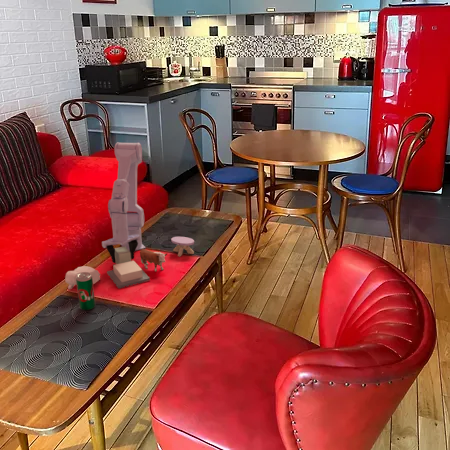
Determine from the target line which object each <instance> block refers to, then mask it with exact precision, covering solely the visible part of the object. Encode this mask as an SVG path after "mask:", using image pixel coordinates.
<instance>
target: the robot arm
mask: <svg viewBox="0 0 450 450" xmlns="http://www.w3.org/2000/svg"><path fill="white" fill-rule="evenodd" d="M114 155H115V159H116V161H117V162H118V163H117V164H118V167H117V179H116V180H114V181H113V185H112V192H111V199H109V200H108V203H107V209H108V213H109V218H110V219H111V228H112V238H109V239H107V240H103V241H101V246H102V248H104V249H106V250H107V251H108V253H109V256H110V258H111V262H112V264H116V261H115V249H114V246H117V245H120V247H123V246H125V247H126V248H127V249H128V250H129V251H130V253H131V260H134V256H135V252H136V251H140V250H141V249H145V250H146V246H145V245H144V244H143V242H142V241H143V240H142V238H143V237H142V228H143V227H144V224H145V213H144V209H143V208H142V207H141V206H140V205H139V204H138V168H139V167H138V166H139V165H140V164H141V163H142V160H143V148H142V144H141V143H140V142H119V141H117V142H116V143H115V145H114Z"/></svg>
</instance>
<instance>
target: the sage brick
mask: <svg viewBox="0 0 450 450" xmlns="http://www.w3.org/2000/svg"><path fill="white" fill-rule="evenodd" d="M114 249H115V261H116V263H115V265H116V264H120V263H125V262H129V261H132V259H131V253H130V251H129V250H128V249H127V248H126V247H125V246H123V247H122V246H120V247H115V248H114Z"/></svg>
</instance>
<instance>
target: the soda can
mask: <svg viewBox="0 0 450 450" xmlns="http://www.w3.org/2000/svg"><path fill="white" fill-rule="evenodd" d="M76 283H77V285H76V289H77V299H78V305H79V308H80V310H82V311H90V310H92V309H94V308H95V306H96V300H95V299H96V298H95V291H94V284H93V280H92V276H91V274H90V273H88V272H82V273H79V274H78V275H77V278H76Z"/></svg>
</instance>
